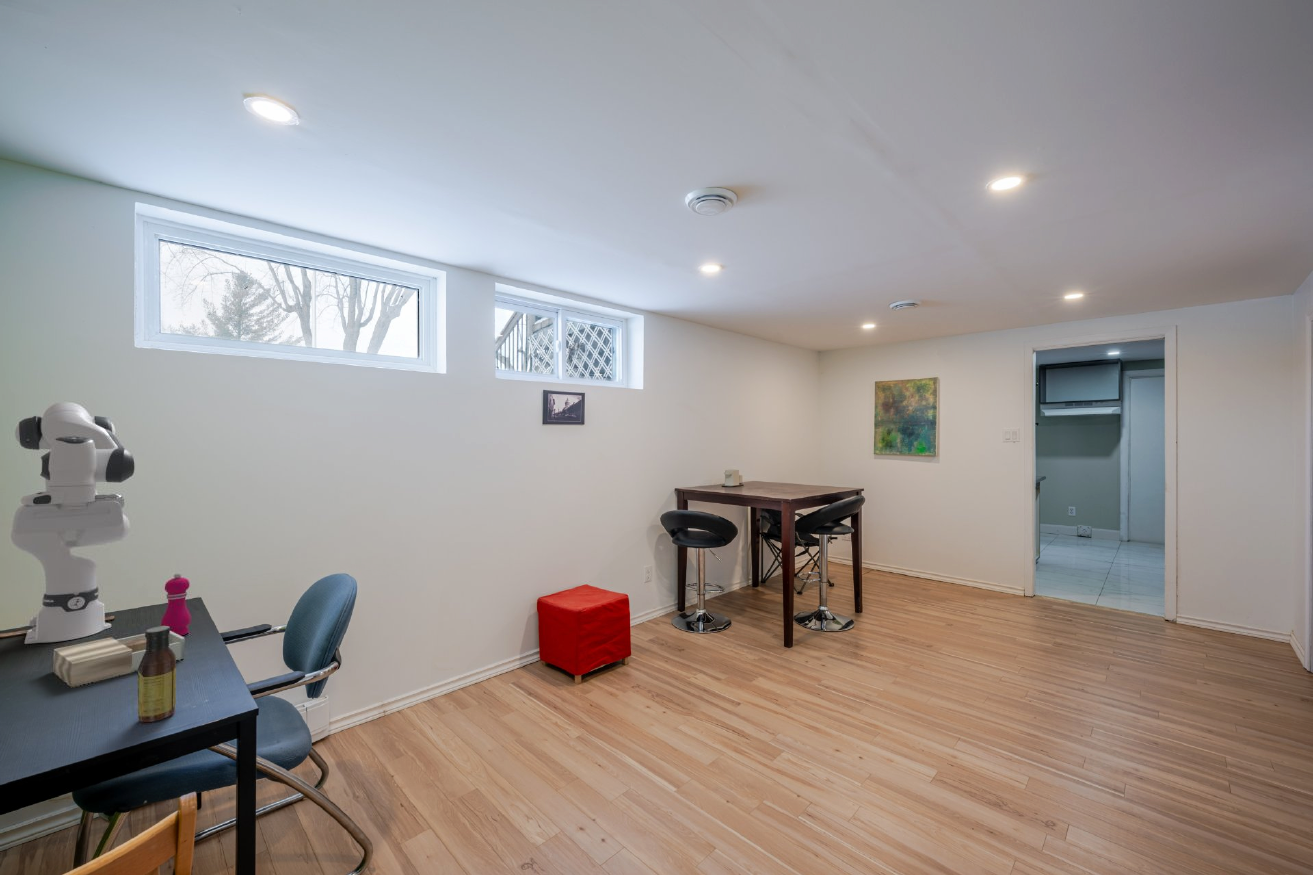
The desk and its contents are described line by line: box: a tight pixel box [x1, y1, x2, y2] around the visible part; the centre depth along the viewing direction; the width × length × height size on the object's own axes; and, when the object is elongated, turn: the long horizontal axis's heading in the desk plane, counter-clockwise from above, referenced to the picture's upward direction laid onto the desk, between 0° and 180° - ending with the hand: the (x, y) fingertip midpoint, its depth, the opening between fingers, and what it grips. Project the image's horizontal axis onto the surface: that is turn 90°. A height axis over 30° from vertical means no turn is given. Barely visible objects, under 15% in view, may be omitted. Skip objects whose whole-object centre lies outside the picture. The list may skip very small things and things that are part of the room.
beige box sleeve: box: [52, 636, 133, 689], centre depth 142 cm, size 18×11×6 cm, turn 58°
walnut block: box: [122, 637, 146, 653], centre depth 150 cm, size 5×5×8 cm
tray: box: [116, 631, 186, 673], centre depth 152 cm, size 18×11×6 cm, turn 58°
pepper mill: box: [160, 572, 192, 637], centre depth 171 cm, size 7×7×20 cm
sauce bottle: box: [137, 625, 177, 723], centre depth 119 cm, size 7×6×20 cm
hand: (70, 547), depth 144 cm, fingers closed
